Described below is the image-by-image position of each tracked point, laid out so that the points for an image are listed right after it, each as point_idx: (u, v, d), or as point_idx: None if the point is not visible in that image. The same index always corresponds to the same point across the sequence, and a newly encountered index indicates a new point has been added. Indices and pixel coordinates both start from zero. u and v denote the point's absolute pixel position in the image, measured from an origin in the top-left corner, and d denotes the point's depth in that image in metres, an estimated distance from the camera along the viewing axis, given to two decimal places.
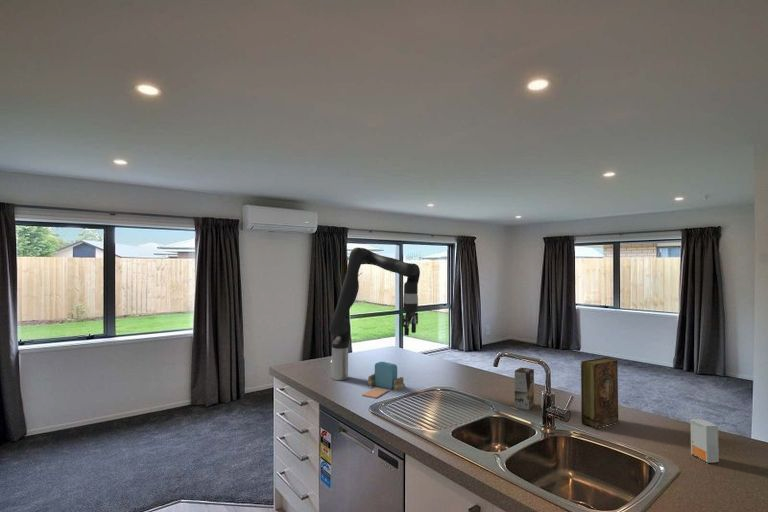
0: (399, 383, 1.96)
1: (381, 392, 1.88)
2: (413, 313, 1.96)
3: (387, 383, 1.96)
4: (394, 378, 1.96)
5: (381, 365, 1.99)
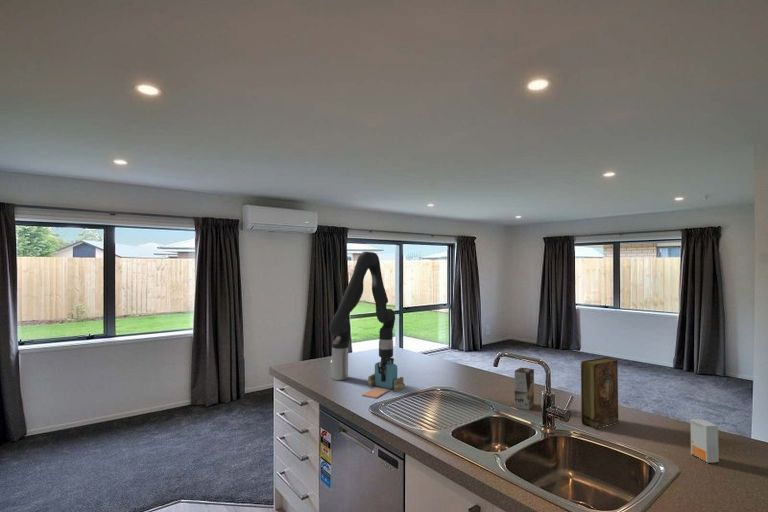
0: (399, 383, 1.96)
1: (381, 392, 1.88)
2: (389, 358, 2.01)
3: (387, 383, 1.96)
4: (394, 378, 1.96)
5: None
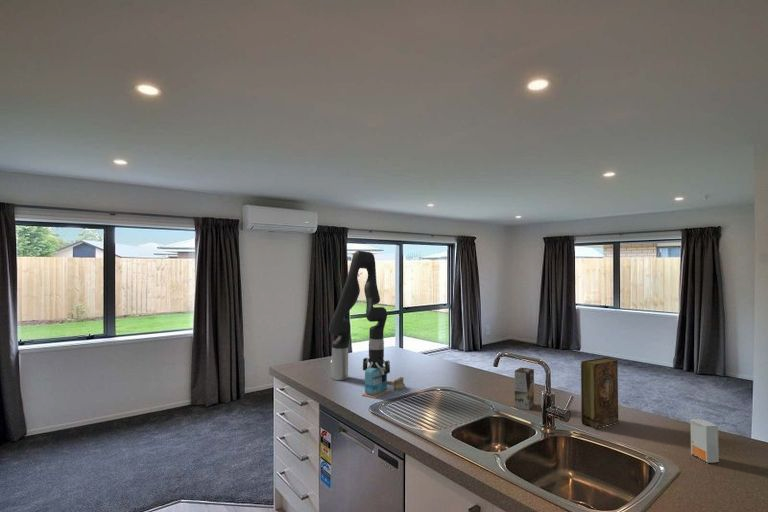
0: (399, 383, 1.96)
1: (381, 392, 1.88)
2: (377, 360, 1.88)
3: None
4: (367, 383, 1.85)
5: None
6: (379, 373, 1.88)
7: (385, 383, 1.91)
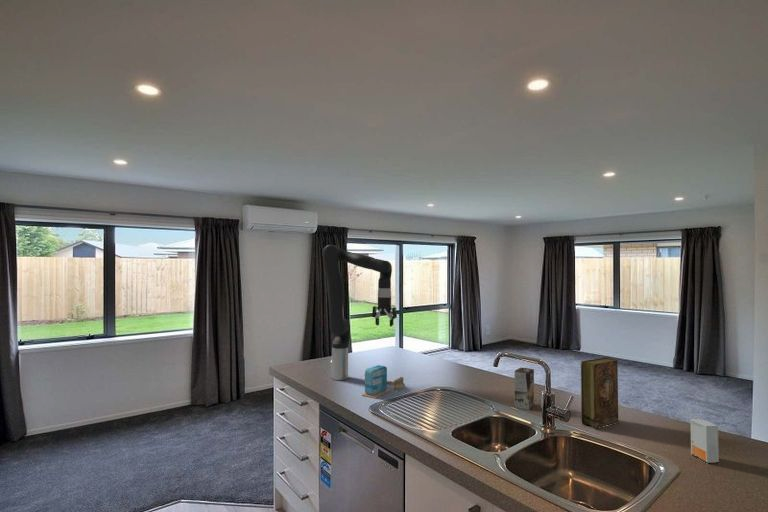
0: (399, 383, 1.96)
1: (381, 392, 1.88)
2: (385, 307, 2.11)
3: None
4: (367, 383, 1.85)
5: None
6: (379, 373, 1.88)
7: (385, 383, 1.91)
